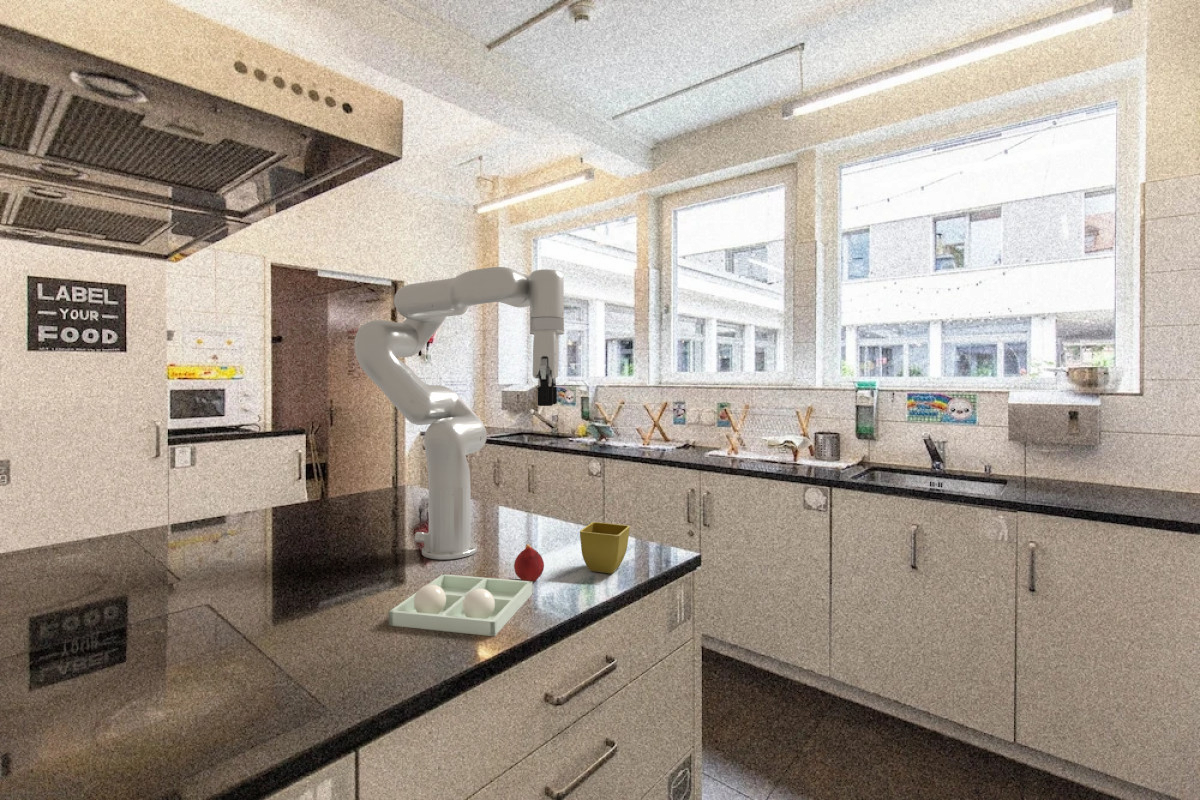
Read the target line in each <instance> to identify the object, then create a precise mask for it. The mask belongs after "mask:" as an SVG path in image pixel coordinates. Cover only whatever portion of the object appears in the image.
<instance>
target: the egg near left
mask: <svg viewBox="0 0 1200 800" xmlns="http://www.w3.org/2000/svg"><path fill="white" fill-rule="evenodd" d="M428 584H429V583H428ZM428 584H426V585H423V586H422V587H421V588H419V589H418V590H417V591H416V592H417V593H416V592H415V593H416V595H415V597H414V607H415V610H416V611H417V612H418V613H428V614H439V613H440V612H441V611H442V610H443V608H444V607H445V604H446V594H445V592H444V590H443V589H442V588H441V587H439V586H438V585H434V584H429V585H428Z"/></svg>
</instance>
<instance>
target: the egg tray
mask: <svg viewBox="0 0 1200 800" xmlns="http://www.w3.org/2000/svg"><path fill="white" fill-rule="evenodd" d="M429 584H434V585H438V586H439V587H441V588H442V589H443V590H444V592H445V594H446V604H445V607H444V608H443V610H442V611H441V612H440V613H439V614H428V613H418V612H417V611H416V610H415V607H414V597H415V595H416V593H417V591H416V592H415V593H414V594H412V595H411V596H409V597H408V598H406V599H405V600H403V601H402V602H400V603H399V604H398V605H395V607H393V608H392V609H391V610H389V611H388V626H390V627H391V626H392V627H398V628H400V627H402V628H409V629H411V628H412V629H420V630H429V631H430V630H431V631H437V632H438V631H439V632H449V633H457V634H458V633H460V634H468V635H469V634H470V635H475V636H477V635H479V636H487V637H488V636H489V637H496V636H497V634H499V632H501V630H502V629H503V628H504V627H505V626H506V625H507V623H508V622H509V621H510V619H512V618H513V616H514V615H515V614H516V613H517V611H519V609H521V607H523V605H524V604H525V603H526V602H527V600H528V599H529V598H530V597H531V596H532V595H533V582H532V581H522V580H521V579H520V580H517V579H506V578H505V579H504V578H494V577H483V576H481V577H480V576H469V575H456V574H455V575H454V574H446V573H442V574H440V575H439V576H438V577H436V578H434V580H431V582H429V583H428V584H427V585H429ZM478 588H482V589H486V590H488V591H489V592H490V593H491V594H492V595H493V597H494V600H495V608H494V611H493V613H492V615H491V616H490V617H489V618H488V619H480V618H469V617H466V616H465V614H464V612H463V601H464V598H465V597H466V595H467V594H468V593H469V592H470V591H472V590H474V589H478Z"/></svg>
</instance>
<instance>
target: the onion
mask: <svg viewBox="0 0 1200 800" xmlns="http://www.w3.org/2000/svg"><path fill="white" fill-rule="evenodd" d="M513 569H514V572H515V573H514V574H515V575H516V577H518V578H519V579H520V581H532V583H533V582H536V581H537V580H538V579H539V578H541V576H542V574H543V572H544V569H545V562H544V559H543V557H542V555H541V553H539V552H538V551H537V550H536V549H534V547H532V546H531V544H529V543H527V544H525V549H523V550H522V551H520V553H519V554H518V555H517V556H516V558H515V560H514V564H513Z"/></svg>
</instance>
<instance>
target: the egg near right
mask: <svg viewBox="0 0 1200 800" xmlns="http://www.w3.org/2000/svg"><path fill="white" fill-rule="evenodd" d="M494 608H495V600H494V597H493V595H492V594H491V593H490V592H489V591H488V590H486V589H482V588H478V589H474V590H472V591H470V592H469V593H468V594H467V595H466V597H465V598H464V601H463V612H464V614H465V616H466V617H469V618H480V619H488V618H489V617H490V616H491V615H492V613H493V611H494Z"/></svg>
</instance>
